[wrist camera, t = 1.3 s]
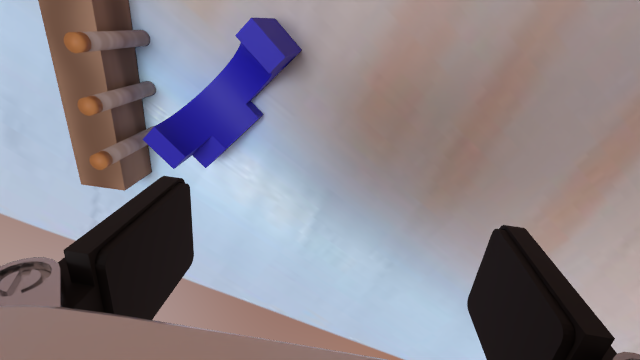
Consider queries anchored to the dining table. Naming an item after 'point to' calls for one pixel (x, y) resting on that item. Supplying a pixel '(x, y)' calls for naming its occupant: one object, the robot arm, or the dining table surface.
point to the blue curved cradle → (226, 98)
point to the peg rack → (100, 88)
